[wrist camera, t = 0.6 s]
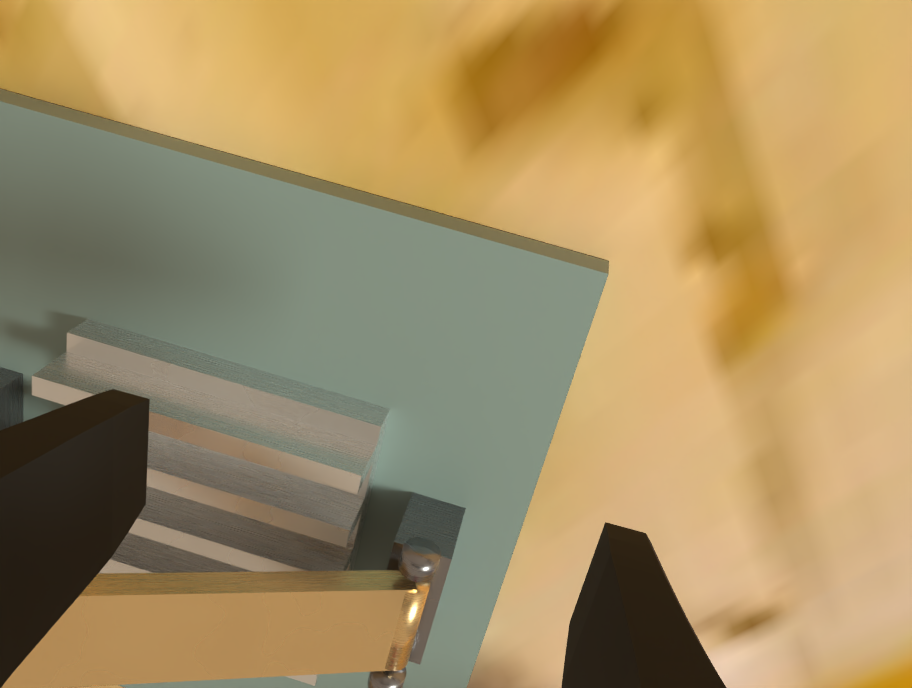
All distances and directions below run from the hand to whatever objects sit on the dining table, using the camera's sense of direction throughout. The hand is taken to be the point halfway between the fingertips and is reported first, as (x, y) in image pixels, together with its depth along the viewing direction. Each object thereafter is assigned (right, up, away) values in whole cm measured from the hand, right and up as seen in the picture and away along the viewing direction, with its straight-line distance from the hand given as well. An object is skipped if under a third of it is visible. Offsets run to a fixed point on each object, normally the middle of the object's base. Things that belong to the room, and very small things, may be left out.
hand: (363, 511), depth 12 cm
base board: (-6, -1, +13) cm, 15 cm away
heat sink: (-6, -2, +12) cm, 14 cm away
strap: (-6, -4, +8) cm, 11 cm away
